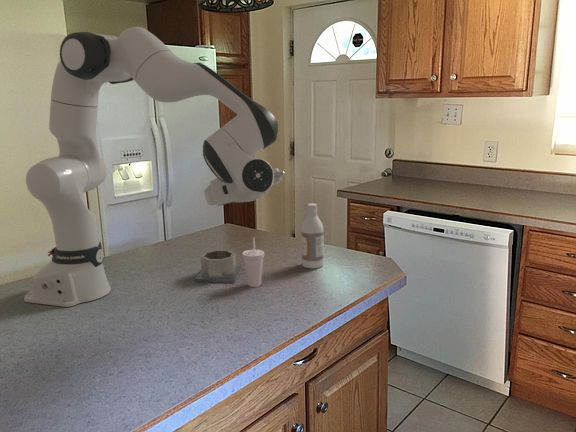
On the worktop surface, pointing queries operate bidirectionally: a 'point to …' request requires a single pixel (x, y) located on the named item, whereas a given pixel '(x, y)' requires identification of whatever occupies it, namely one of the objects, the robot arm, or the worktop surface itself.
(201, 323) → the worktop surface
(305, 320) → the worktop surface
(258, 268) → the smoothie
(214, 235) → the worktop surface
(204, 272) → the octagonal cup holder
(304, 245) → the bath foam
